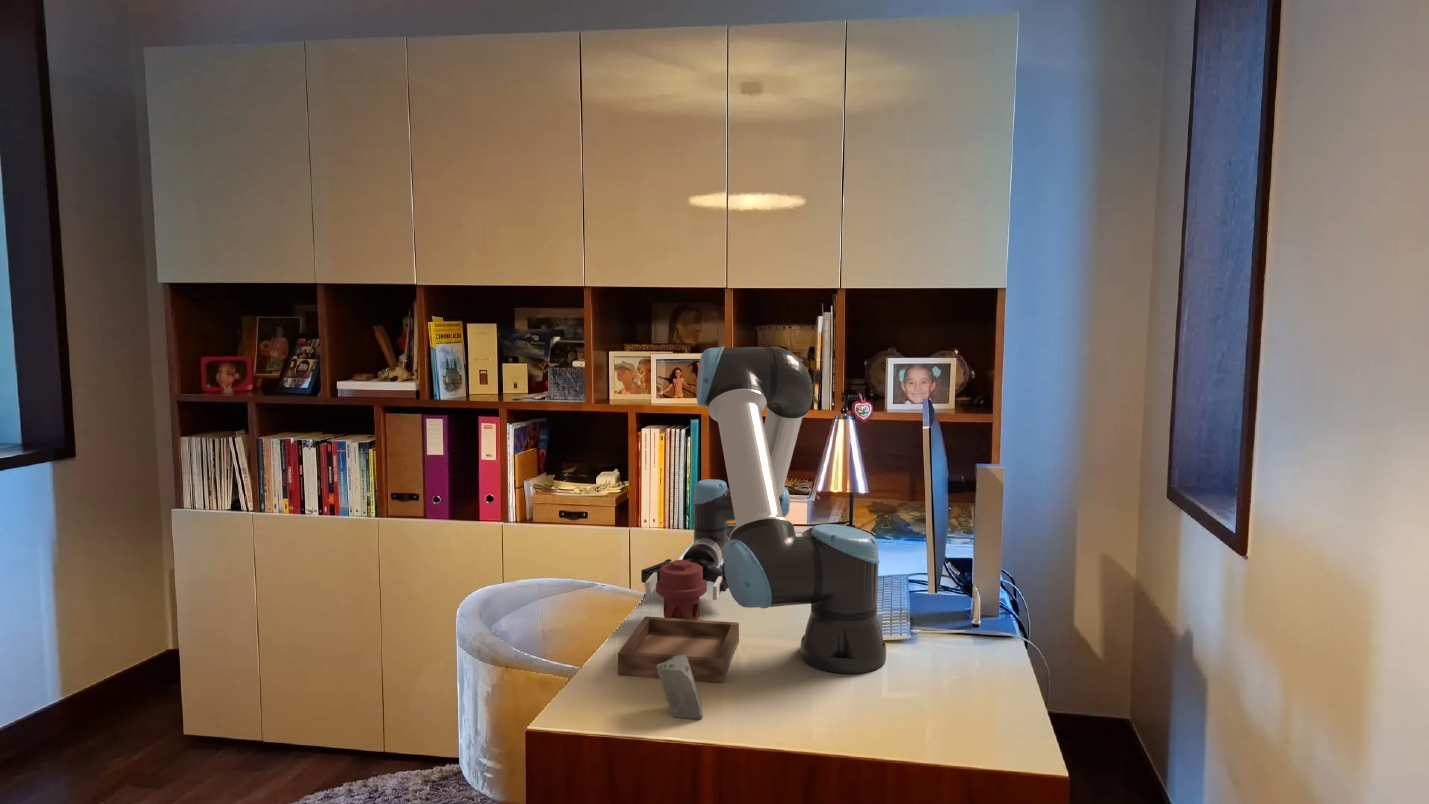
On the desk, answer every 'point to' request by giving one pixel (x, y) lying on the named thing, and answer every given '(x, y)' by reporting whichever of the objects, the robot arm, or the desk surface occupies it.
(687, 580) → the mechanical component
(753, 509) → the robot arm
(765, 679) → the desk surface
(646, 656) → the walnut tray
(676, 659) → the mineral specimen
